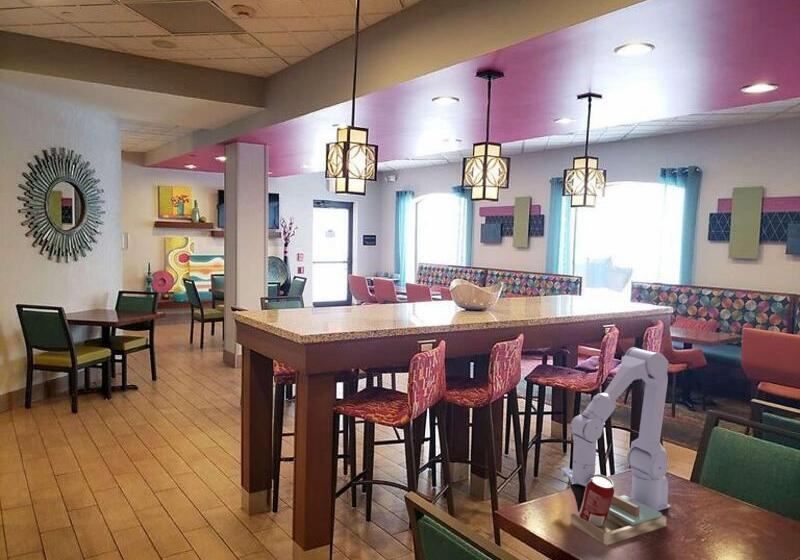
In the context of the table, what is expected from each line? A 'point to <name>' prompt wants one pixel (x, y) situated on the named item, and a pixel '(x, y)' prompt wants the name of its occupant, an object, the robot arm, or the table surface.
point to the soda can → (597, 500)
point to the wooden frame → (620, 533)
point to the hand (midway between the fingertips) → (581, 511)
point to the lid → (632, 510)
